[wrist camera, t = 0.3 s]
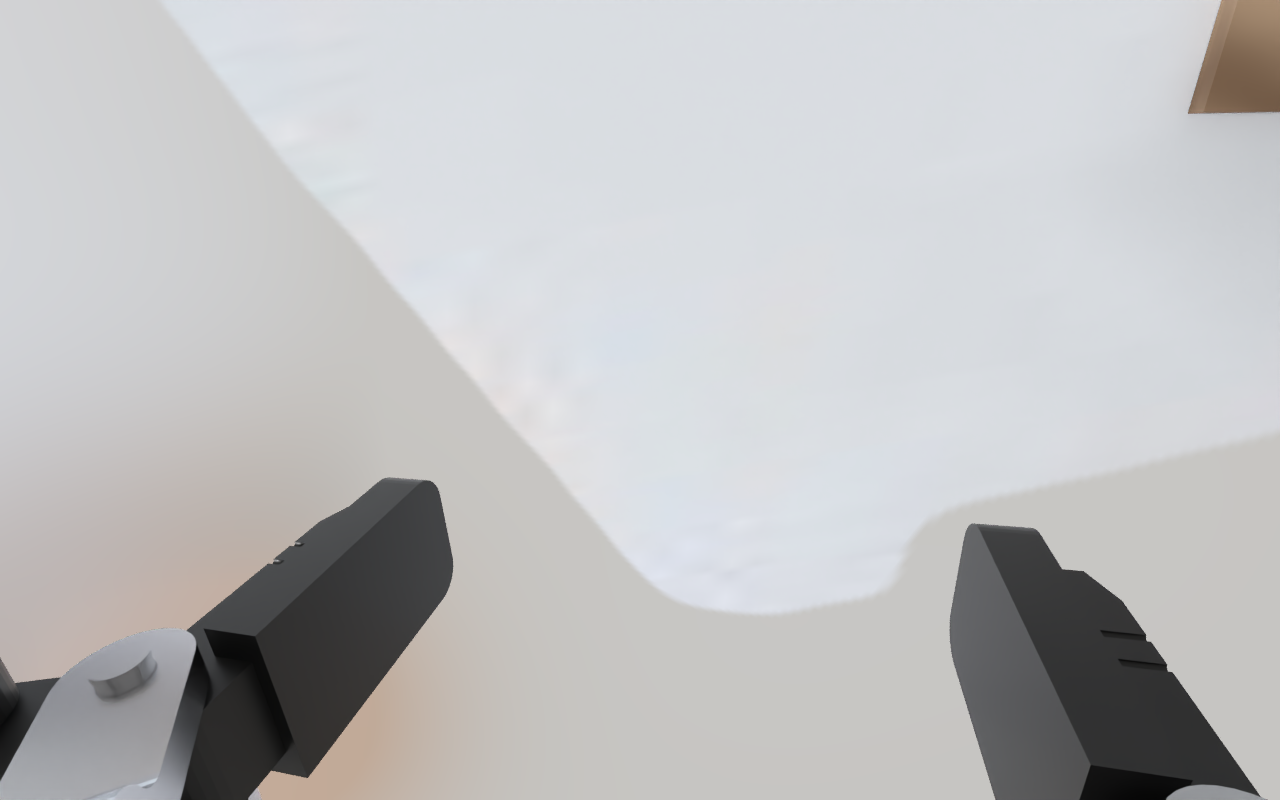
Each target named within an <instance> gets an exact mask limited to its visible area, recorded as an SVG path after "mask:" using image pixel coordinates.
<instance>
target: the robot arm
mask: <svg viewBox="0 0 1280 800" xmlns="http://www.w3.org/2000/svg"><path fill="white" fill-rule="evenodd" d="M452 573H453V558H452V553H451V548H450V543H449V538H448V533H447V528H446V523H445V518H444V513H443V508H442V503H441V498H440V494H439V491H438V488H437V487H436V485H435V484H434V483H433V482H431V481H427V480H414V479H401V478H384V479H382V480H381V481H379V482H378V483H377V484H376V485H374V486H373V487H372V488H371V489H370V490H369V491H367V492H366V493H365V494H364V495H362V496H361V497H360V498H359V499H358V500H356V501H355V502H354V503H353V504H352V505H350V506H349V507H347V508H345V509H343V510H341V511H339V512H337V513H335V514H334V515H332V516H330V517H328V518H326V519H324V520H322V521H320V522H319V523H318V524H316V525H315V526H314V527H313V528H311V529H310V530H309V531H308V532H307V533H305V534H304V535H303V536H302V537H300V538H299V539H298V540H297V541H295V545H294V546H289V547H288V548H287V549H286V550H285V551H283V552H282V553H281V554H280V555H278V556H277V557H276V558H275V559H274V562H273V564H267V565H266V566H265V567H264V568H262V569H261V570H260V571H259V572H258V573H256V574H255V575H254V576H253V577H251V578H250V579H249V580H248V581H246V582H245V583H244V584H243V585H242V586H240V587H239V588H238V589H237V590H235V591H234V592H233V593H232V594H231V595H230V596H228V597H227V598H226V599H224V600H223V601H222V602H221V603H220V604H218V605H217V606H216V607H215V608H213V609H212V610H211V611H210V612H208V613H207V614H206V615H205V616H204V617H202V618H201V619H200V620H199V621H197V622H196V623H195V624H194V625H193V626H191V627H190V628H189V629H188V630H187V631H186V630H182V629H177V628H161V629H154V630H149V631H145V632H141V633H138V634H134V635H131V636H128V637H126V638H124V639H121V640H118V641H116V642H114V643H112V644H110V645H108V646H105V647H103V648H102V649H100V650H98V651H96V652H95V653H93V654H91V655H90V656H88V657H86V658H85V659H83V660H82V661H80V662H79V663H78V664H77V665H75V666H74V667H73V668H71V669H70V670H69V671H68V672H67V673H66V674H65V675H63V676H62V677H60V678H52V679H44V680H36V681H29V682H20V683H14V681H13V679H12V677H11V676H10V674H9V672H8V671H7V669H6V667H5V666H4V664H3V662H2V660H1V659H0V800H262V799H261V795H260V792H259V790H258V788H257V787H258V786H259V784H260V783H261V782H262V781H263V779H264V778H265V777H266V776H267V775H268V774H269V772H270V771H276V772H281V773H286V774H291V775H296V776H301V777H306V778H308V777H309V775H310V774H311V773H312V772H313V770H314V769H315V768H316V766H317V765H318V764H319V762H320V761H321V760H322V758H323V757H324V756H325V754H326V753H327V752H328V750H329V749H330V748H331V746H332V745H333V744H334V742H335V741H336V740H337V738H338V737H339V736H340V735H341V733H342V732H343V731H344V729H345V728H346V727H347V725H348V724H349V722H350V721H351V720H352V719H353V717H354V716H355V715H356V713H357V712H358V711H359V709H360V708H361V707H362V705H363V704H364V703H365V701H366V700H367V699H368V698H369V696H370V695H371V694H372V692H373V691H374V690H375V688H376V687H377V686H378V684H379V683H380V681H381V680H382V679H383V678H384V676H385V675H386V674H387V672H388V671H389V670H390V668H391V667H392V666H393V664H394V663H395V662H396V660H397V659H398V658H399V656H400V655H401V654H402V652H403V651H404V650H405V649H406V647H407V646H408V645H409V643H410V642H411V641H412V639H413V638H414V636H415V635H416V634H417V633H418V631H419V630H420V629H421V627H422V626H423V625H424V623H425V622H426V621H427V619H428V618H429V617H430V615H431V614H432V613H433V611H434V610H435V609H436V607H437V606H438V605H439V603H440V602H441V601H442V600H443V598H444V597H445V595H446V593H447V591H448V588H449V586H450V582H451V579H452ZM950 644H951V652H952V657H953V662H954V665H955V668H956V672H957V675H958V678H959V682H960V685H961V688H962V691H963V695H964V698H965V701H966V704H967V708H968V711H969V714H970V718H971V721H972V724H973V727H974V731H975V734H976V737H977V740H978V744H979V747H980V750H981V754H982V757H983V760H984V763H985V767H986V770H987V773H988V776H989V780H990V783H991V786H992V790H993V793H994V796H995V799H996V800H1267V799H1264V798H1262V797H1260V795H1259V794H1258V792H1257V791H1256V789H1255V788H1254V787H1253V785H1252V784H1251V783H1250V781H1249V780H1248V778H1247V777H1246V776H1245V774H1244V772H1243V771H1242V770H1241V768H1240V767H1239V765H1238V764H1237V763H1236V761H1235V760H1234V758H1233V757H1232V756H1231V754H1230V753H1229V751H1228V750H1227V748H1226V747H1225V746H1224V745H1223V743H1222V741H1221V740H1220V739H1219V737H1218V736H1217V734H1216V733H1215V732H1214V730H1213V729H1212V727H1211V726H1210V724H1209V723H1208V722H1207V720H1206V719H1205V717H1204V716H1203V715H1202V713H1201V712H1200V710H1199V709H1198V708H1197V706H1196V705H1195V703H1194V702H1193V701H1192V699H1191V698H1190V696H1189V695H1188V693H1187V692H1186V691H1185V689H1184V688H1183V687H1182V685H1181V684H1180V682H1179V681H1178V679H1177V678H1176V677H1175V675H1174V674H1173V673H1172V672H1168V671H1167V664H1166V662H1165V661H1164V659H1163V658H1162V657H1161V655H1160V654H1159V653H1158V651H1157V650H1156V648H1155V647H1154V646H1153V644H1152V643H1151V642H1147V641H1146V634H1145V633H1144V631H1143V630H1142V629H1141V627H1140V626H1139V624H1138V623H1137V621H1136V620H1135V619H1134V617H1133V616H1132V614H1131V613H1130V612H1129V610H1128V609H1127V607H1126V606H1125V605H1124V603H1123V602H1122V601H1121V600H1120V599H1119V598H1118V597H1116V596H1115V595H1114V594H1112V593H1111V592H1110V591H1108V590H1107V589H1106V588H1105V587H1103V586H1102V585H1100V584H1099V583H1098V582H1097V581H1095V580H1094V579H1093V578H1092V577H1090V576H1089V575H1088V574H1086V573H1085V572H1084V571H1073V570H1063V569H1061V567H1060V566H1059V564H1058V562H1057V560H1056V559H1055V557H1054V556H1053V554H1052V553H1051V551H1050V549H1049V548H1048V546H1047V545H1046V543H1045V541H1044V540H1043V538H1042V536H1041V535H1040V533H1039V532H1038V531H1037V530H1036V529H1033V528H1024V527H1010V526H998V525H984V524H971V525H969V527H968V528H967V530H966V533H965V537H964V542H963V547H962V554H961V559H960V565H959V570H958V576H957V581H956V587H955V592H954V598H953V603H952V609H951V615H950Z"/></svg>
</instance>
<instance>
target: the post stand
mask: <svg viewBox="0 0 1280 800" xmlns="http://www.w3.org/2000/svg"><path fill="white" fill-rule="evenodd" d="M1248 112H1280V0H1222V1H1221V4H1220V8H1219V11H1218V14H1217V18H1216V21H1215V24H1214V28H1213V31H1212V34H1211V38H1210V41H1209V44H1208V48H1207V51H1206V54H1205V58H1204V61H1203V64H1202V68H1201V71H1200V75H1199V78H1198V81H1197V85H1196V88H1195V91H1194V95H1193V98H1192V101H1191V105H1190V108H1189V111H1188V114H1192V113H1248Z"/></svg>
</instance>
